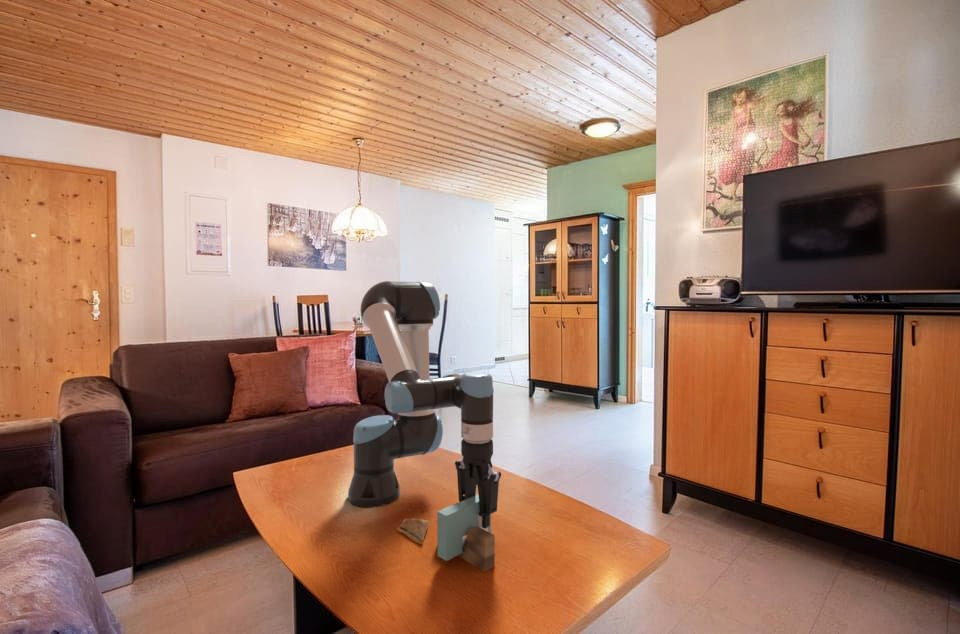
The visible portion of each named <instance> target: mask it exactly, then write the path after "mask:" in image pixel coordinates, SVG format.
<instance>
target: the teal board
mask: <svg viewBox="0 0 960 634" xmlns="http://www.w3.org/2000/svg"><path fill="white" fill-rule="evenodd" d="M478 513H480V504H479V495H478V494H475V496H473V497H470V498H468V499H466V500H463V501H461V502H459V501H458V502H456V503H454V504H452V505H450V506H449V505H448V506H446V507H444V508H443V509H440V510H438V511H437V516H436V517H437V557H438V558H440V559H442V560H443V561H445V562H447V561H449V560H451V559H454V558H455V557H458V556H457V555H459V554H461V553H462V537H463V536H464V537H466V536H467V531H468V530H470V529H472V528H474V527H476V526H477V527H478ZM491 519H492V514H490V526H489V527H488V532H489V533H491V534H492V528H491V527H492V520H491Z"/></svg>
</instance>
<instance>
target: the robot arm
mask: <svg viewBox="0 0 960 634" xmlns="http://www.w3.org/2000/svg"><path fill="white" fill-rule="evenodd" d="M440 310H441V302H440V297H439V293H438V291H437V289H436V287H435V286H434V285H433V284H432V283H430V282H424V281H423V282H422V281H390V280H389V281H388V280H385V281H381V282H378V283H377V284H374V285H373V286H372V287H370V288H369V289H368V290H367V291H366V292H365V294H364V296H363V297H362V300H361V303H360V316H361V320H362V322H363V324H364V325H365V327H367V328H368V329H369V330H370V333H371V336H372V339H373V341H374V344H375V348H376V350H377V352H378V355H379V358H380V360H381V364H382V366H383V369H384V372H385V374H386V378H387V380H388V383H387V384H386V385H385V387H384V400H385V402H384V403H385V407H386V409H387V411H388V412H390V414H391V413H392V414H397V418H396V419H394V417H393V416H391V415H389V414H383V415H378V414H377V415H373V416H369V417H367V418H363V419H361V420H360V421H358V422H357V423H356V424H355V425H354V428H353V438H352V442H353V473H352V478H351V482H350V484H349V488H348V491H347V500H348V502H349V503H350V504H352V505H353V506H356V507H361V508H374V507H382V506H385V505H388V504H390V503H393V502H395V501H396V500H397V499H399V498H400V495H401V490H400V489H401V487H400V483H399V481H398V476H397V475H396V471H395V467H394V466H395V465H394V464H395V460H396V459H404V458H408V457H413V456H414V457H415V456H420V455H421V456H423V455H426V454H429V453H434V452H435V451H437V449H438V448H439V447H440V446H441V443H442V439H443V433H444V431H443V430H444V428H443V424H442V419H441V417H440V416H439V415H438V414H436V410H437V409H446V408H453V407H456V408H458V409H460V417H461V419H460V421H461V423H460V424H461V425H460V426H461V428H460V429H461V430H460V431H461V438H462V439H461V441H460V444H461V445H460V446H461V449H460V451H461V456H462V458H461V459H458V460H455V462H454V465H455V470H456V474H457V491H458V503H459V502H461V501H463V500H466V499H468V498H470V497H473V496H475V495H477V494H476V492H477V493H478V495H479V504H480V513H478V527H479V528H481V529H483V530H485V531H487V532H488V527H489V526H490V514H491V515H492V514H494V513H496V512H497V511H498V500H499V484H500V482H499V481H500V479H501V476H502V472H501V471H499V470H498V471H496V470H495V469H494V468H493V464H492V457H493V456H494V455H493V454H494V440H493V437H494V419H493V418H494V393H495V392H494V385H493V382H494V381H493V376H492V375H491V374H490V373H488V372H480V371H471V372H466V373H465V372H464V373H463V374H462V375H459V374H454V373H453V374H451V373H448V374H446V375H443V376H442V377H434V378H430V377H431V376H430V373H431V372H430V335H429V332H430V331H429V330H430V329H431V328H432V327H433V326H434V320H436V319H437V318H438V317H439V316H440V312H441V311H440Z"/></svg>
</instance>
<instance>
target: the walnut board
mask: <svg viewBox="0 0 960 634" xmlns="http://www.w3.org/2000/svg"><path fill="white" fill-rule="evenodd" d="M495 539H496V538H495V534H492V532H491V533H489V532H487V531H485V530H483V529H481V528H479V527H477V526H476V527H474V528H472V529H470V530H468V531H467V535H466V536H463V537H462V553H461V554H459V555H457V556H456V557H458V558H461V559H463V560H464V561H465V562H467V563H469V564H471V565H472V566H474V567H476V568H478V569H479V570H481V571H483V572H484V573H486V572H488V571H490V569H493V568H494V567H495V562H496V561H495V546H496V545H495V541H496V540H495Z"/></svg>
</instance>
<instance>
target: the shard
mask: <svg viewBox="0 0 960 634" xmlns="http://www.w3.org/2000/svg"><path fill="white" fill-rule="evenodd" d="M428 528H429V521H428V520H425V519H422V518H404V519H403V521H402V523H401V524H400V525H399V526H398V527H397V531H398V533H402V534H405V536H406V537H408V538H409V539H411V540H412V541H413V542H415V543H417V544H420V545H423V544H424V539H425V535H426V534H427V530H428Z"/></svg>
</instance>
